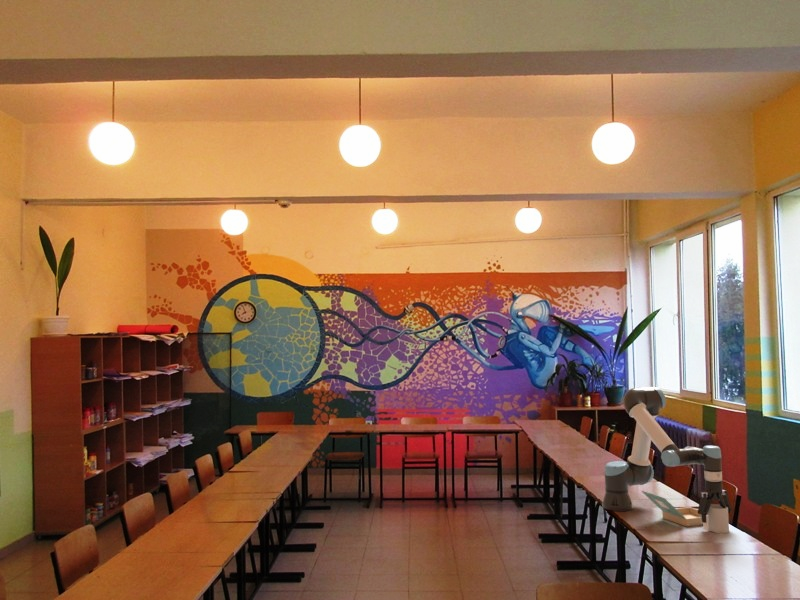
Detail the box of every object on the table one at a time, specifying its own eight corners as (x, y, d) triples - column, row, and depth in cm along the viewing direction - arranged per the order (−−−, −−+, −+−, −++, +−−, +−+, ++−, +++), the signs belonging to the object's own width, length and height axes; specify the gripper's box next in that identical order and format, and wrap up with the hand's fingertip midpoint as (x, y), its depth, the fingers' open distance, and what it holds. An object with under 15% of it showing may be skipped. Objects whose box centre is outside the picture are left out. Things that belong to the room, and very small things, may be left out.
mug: (726, 528, 318) (725, 504, 319) (731, 533, 310) (730, 509, 311) (698, 527, 321) (697, 503, 321) (703, 532, 312) (702, 508, 313)
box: (687, 526, 322) (687, 519, 322) (662, 517, 338) (662, 510, 338) (715, 522, 328) (715, 515, 328) (690, 514, 344) (689, 507, 344)
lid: (685, 518, 323) (684, 519, 323) (662, 510, 337) (662, 511, 337) (664, 497, 319) (663, 499, 319) (642, 490, 334) (641, 491, 334)
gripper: (699, 483, 309) (701, 533, 308) (739, 479, 317) (741, 527, 316) (687, 480, 316) (689, 528, 315) (726, 476, 324) (728, 523, 323)
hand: (715, 528), depth 315 cm, fingers closed on mug, 10 cm apart
